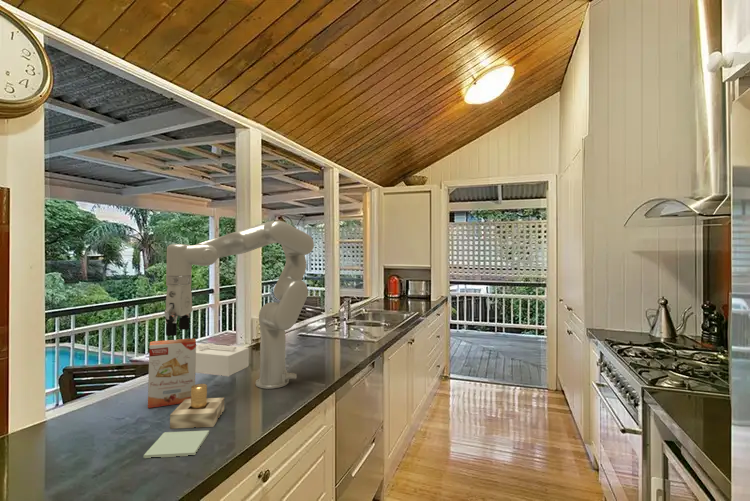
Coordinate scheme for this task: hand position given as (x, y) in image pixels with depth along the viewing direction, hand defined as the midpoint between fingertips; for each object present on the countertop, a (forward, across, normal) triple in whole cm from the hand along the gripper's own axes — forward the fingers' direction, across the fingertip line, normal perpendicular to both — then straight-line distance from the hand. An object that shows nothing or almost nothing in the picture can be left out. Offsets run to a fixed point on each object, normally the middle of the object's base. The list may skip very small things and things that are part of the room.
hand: (178, 332), depth 127 cm
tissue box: (+25, +41, +1) cm, 48 cm away
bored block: (+24, -11, -11) cm, 29 cm away
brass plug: (+24, -11, -11) cm, 29 cm away
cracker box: (+24, +2, +3) cm, 25 cm away
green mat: (+24, -27, -12) cm, 38 cm away
